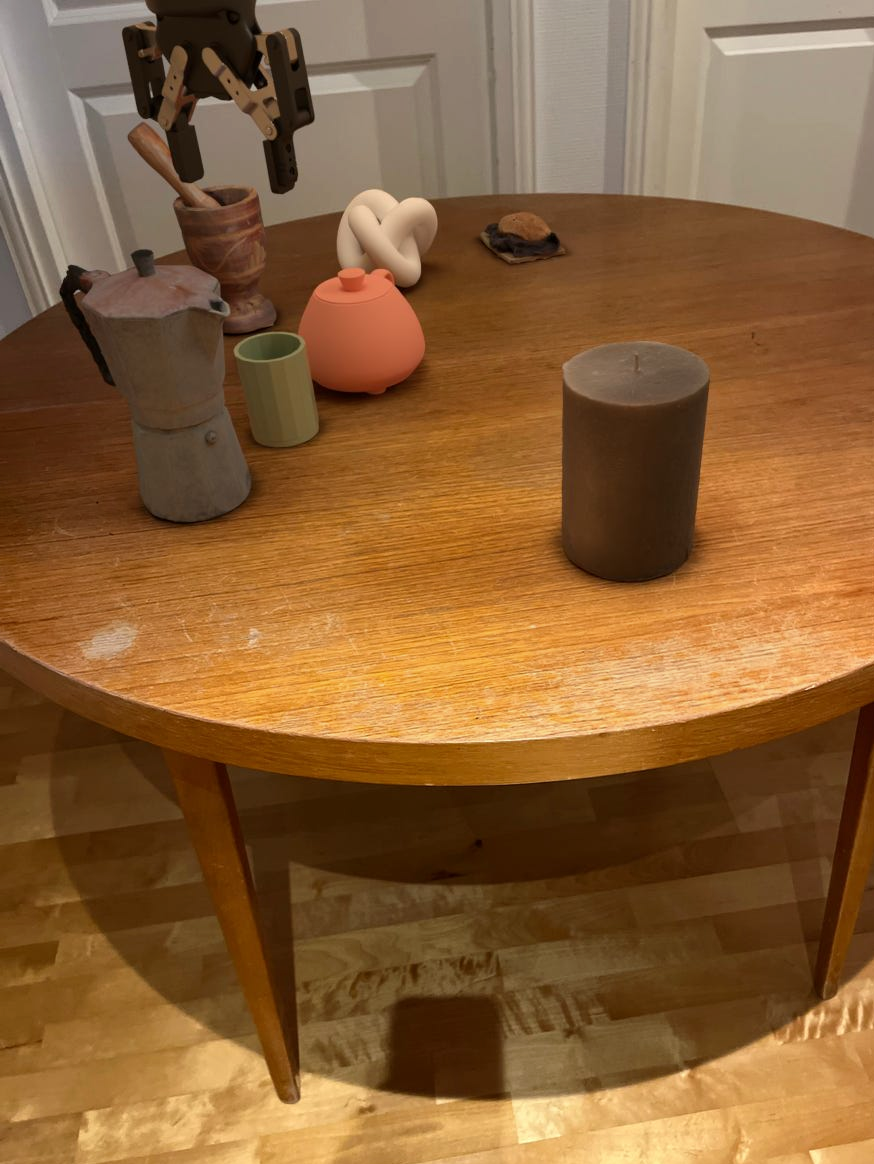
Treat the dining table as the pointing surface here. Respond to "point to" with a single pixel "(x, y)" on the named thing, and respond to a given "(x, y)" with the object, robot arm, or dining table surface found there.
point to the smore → (521, 238)
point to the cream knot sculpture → (386, 235)
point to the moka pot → (166, 380)
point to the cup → (277, 388)
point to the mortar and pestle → (218, 235)
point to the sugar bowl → (361, 333)
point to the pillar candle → (632, 457)
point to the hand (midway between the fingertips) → (237, 185)
